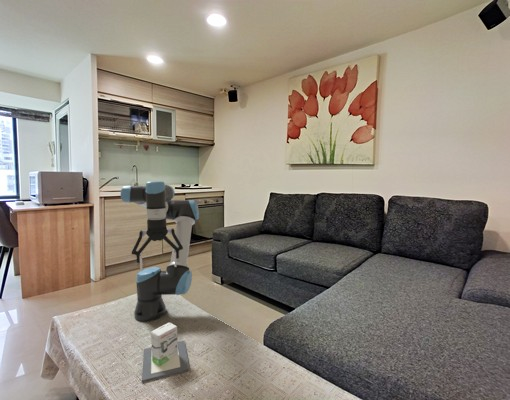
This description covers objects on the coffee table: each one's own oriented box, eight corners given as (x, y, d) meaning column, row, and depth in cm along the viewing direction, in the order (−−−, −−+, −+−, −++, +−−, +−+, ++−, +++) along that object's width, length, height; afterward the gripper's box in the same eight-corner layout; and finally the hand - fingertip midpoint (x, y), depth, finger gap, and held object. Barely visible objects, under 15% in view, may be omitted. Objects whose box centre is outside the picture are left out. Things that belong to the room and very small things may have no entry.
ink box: (159, 366, 99) (158, 336, 98) (151, 361, 102) (150, 331, 101) (178, 354, 106) (177, 325, 105) (170, 349, 109) (169, 321, 108)
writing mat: (143, 350, 110) (143, 348, 109) (184, 342, 115) (184, 339, 115) (141, 382, 93) (141, 379, 93) (189, 370, 98) (189, 368, 98)
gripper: (122, 221, 105) (125, 274, 107) (188, 217, 113) (189, 267, 115) (124, 219, 112) (127, 268, 114) (186, 215, 120) (187, 261, 122)
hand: (158, 268), depth 115 cm, fingers open, 13 cm apart
